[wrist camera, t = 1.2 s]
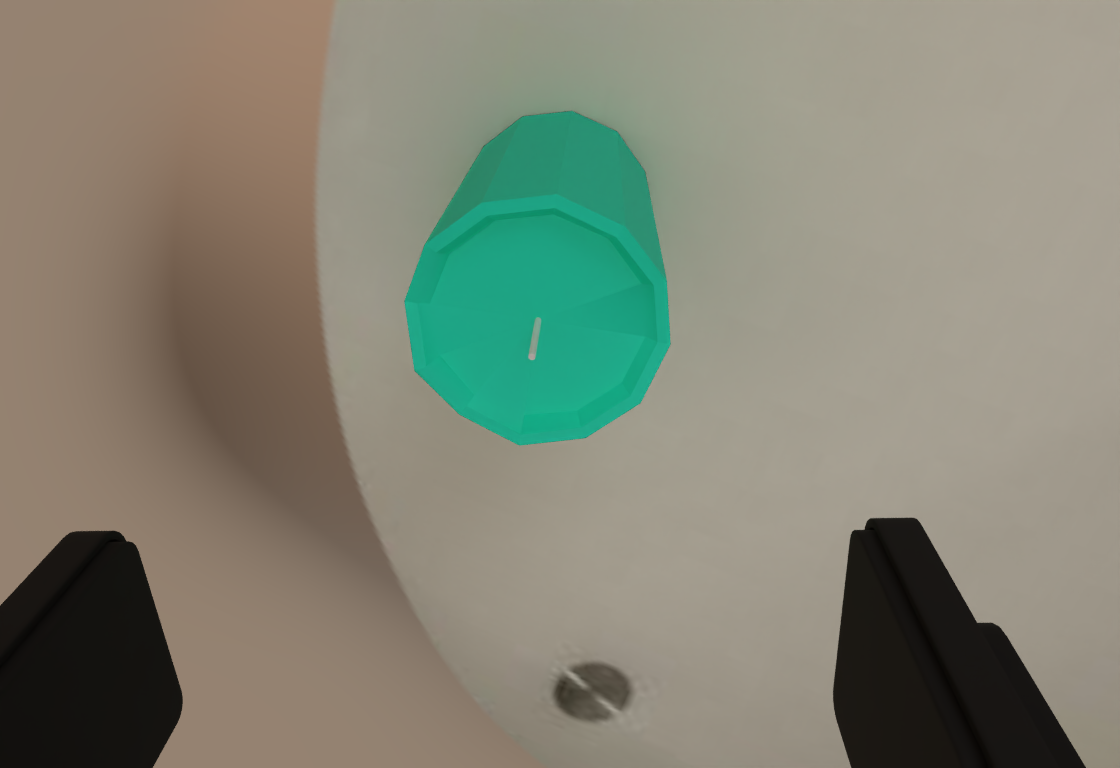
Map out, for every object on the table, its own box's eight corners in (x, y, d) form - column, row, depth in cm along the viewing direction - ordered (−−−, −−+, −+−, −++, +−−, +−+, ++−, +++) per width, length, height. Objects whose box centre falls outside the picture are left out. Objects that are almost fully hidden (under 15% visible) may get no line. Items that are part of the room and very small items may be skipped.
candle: (541, 68, 27) (502, 147, 16) (688, 191, 28) (742, 338, 18) (430, 218, 29) (330, 374, 18) (571, 325, 31) (555, 528, 20)
